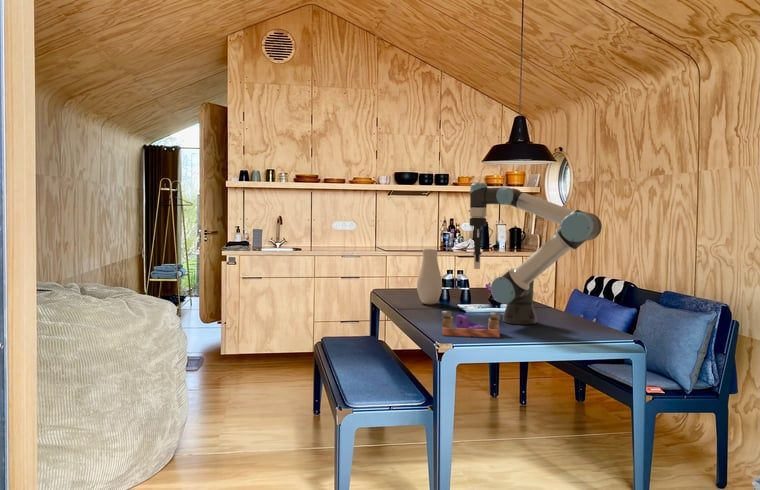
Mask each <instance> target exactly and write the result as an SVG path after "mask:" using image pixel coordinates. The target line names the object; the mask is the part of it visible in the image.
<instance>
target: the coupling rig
mask: <svg viewBox="0 0 760 490" xmlns="http://www.w3.org/2000/svg"><path fill="white" fill-rule="evenodd" d="M489 315H490V316H489V317H488V324H487V328H488V329H465V328H456V327H453V324H454V323H453V322H454V319H453V316H452V311H451V310H450V311H449V310H442V311H441V318H442V328H441V329H442V330H441V331H442V333H441V335H442V336H453V337H455V336H456V337H471V336H473V337H472V338H474V337H476V338H479V337H480V338H499V339H500V335H501V333H500V332H501V330H500V320H501V312H489Z"/></svg>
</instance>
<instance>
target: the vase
mask: <svg viewBox="0 0 760 490" xmlns="http://www.w3.org/2000/svg"><path fill="white" fill-rule="evenodd" d="M416 290H417V295H418V297H419V300H420V301H421V303H422V304H425V305H435V304H437V303H438V301H439V299H440V297H441V294H442V292H443V291H442V290H443V281H442V274H441V271H440V267H439V261H438V249H437V248H423V249H422V261H421V265H420V268H419V272H418V277H417V280H416Z"/></svg>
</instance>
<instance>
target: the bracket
mask: <svg viewBox="0 0 760 490" xmlns="http://www.w3.org/2000/svg"><path fill="white" fill-rule="evenodd" d="M455 319H456V321H455V322H456V323H455V328H465V329H488V327H485V326H483V325H480V324H477V323H475V322H472V321H470V320H469V318H468V317H467V316H466V315H464V314H463V315H462V314H457V315H456V317H455Z"/></svg>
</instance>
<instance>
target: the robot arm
mask: <svg viewBox="0 0 760 490" xmlns="http://www.w3.org/2000/svg"><path fill="white" fill-rule="evenodd" d="M469 190H470V191H469V196H470V197H469V202H470V203H469V209H468V213H469V217H470V218H469V226H471V227H474V229H473V232H472V234H473V241H474V249H473V253H472V255H473V269H474V270H481V255H482V251H481V247H482V246H481V245H482V244H481V243H482V242H481V241H482V238H483V237H482V235H483V230H482V229H481V227H486V226H487V218H486V217H487V213H488V208H487V205H501V206H502V205H503V206H504V205H505V206H506V205H508V206H511V207H514V208H516V209H520V210H523V211H525V212H528V213H531V214H533V215H535V216H537V217H540V218H542V219H544V220H548V221H551V222H553V223H555V224H558V225H559V226H557V227H556V229H555V234H554V235H553V236H552V237H551V238H550V239H548V240H547V241H546V242H544V244H542V245H541V246H540V247H539V248H538V249H537V250H535V252H534V253H532V254H531V255H530V256H529V257H528V258H527V259H526V260H525V261H523V262H522V263H521V264H519V266H517V267H516V268H510V269H509V270H508V271H506V272H505V273H504V274H503V275H502V276H499V277H496V278H495V279H494V280H493V281H492V283H491V285H490V293H491V296H492V297H493V299H494V301H496V302H498V303H501V304H506V307H505V309H504V312H503V315H502V322H504V323H507V324H511V325H512V324H513V325H535V324H536V323H537V315H536V311H535V308H534V284H535V283H534V282H535V280H536V278H538V277H539V276H540V275H541V274H543V273H544V272H545V271H546V270H547V269H549V267H552V265H553V264H554V263H556V262H557V261H558V260H559V259H560V258H561V257H563V256H564V255H565V254H567V252H569V251H570V250H574V251H575V250H577V249H578V248H579V247H580V246H582V244H584V243H585V242H586V241H591V240H595V239H596V238H597V237H598V236H599V235H600V234H601V232H602V228H603V225H602V221H601V219H600V218H599V217H598V216H597V215H596V214H595V213H591V212H586V211H583V210H580V209H575V210H574V209H570V208H567V207H564V206H561V205H558V204H556V203H553V202H551V201H548V200H545V199H542V198H540V197H537V196H534V195H531V194H529V193H526V192H523V191H521V190H520V189H517V188H514V187H513V188H511V187H506V186H505V187H504V186H501V187H500V186H499V187H488V184H487V183H483V182H482V183H480V182H478V183H477V182H476V183H475V182H474V183H471V184H470V189H469Z"/></svg>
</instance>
